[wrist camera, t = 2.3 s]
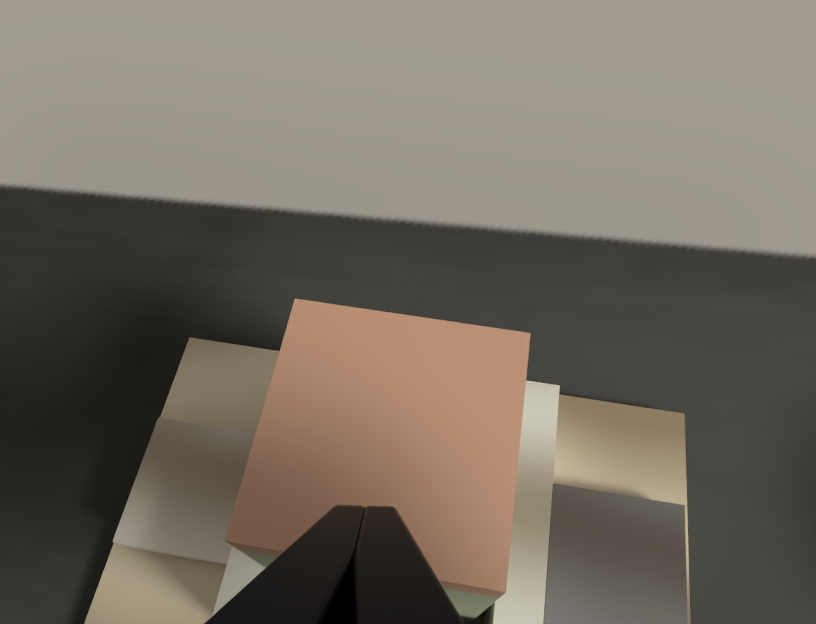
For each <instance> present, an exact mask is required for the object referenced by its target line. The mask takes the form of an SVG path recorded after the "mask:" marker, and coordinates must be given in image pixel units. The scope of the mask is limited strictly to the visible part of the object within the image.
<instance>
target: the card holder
mask: <svg viewBox="0 0 816 624" xmlns="http://www.w3.org/2000/svg"><path fill="white" fill-rule="evenodd" d="M279 352H280V351H275V350H268V349H262V348H255V347H249V346H242V345H236V344H229V343H223V342H216V341H210V340H203V339H197V338H190V337H189V340H188V343H187V346H186V348H185V351H184V354H183V356H182V359H181V362H180V365H179V367H178V370H177V373H176V375H175V378H174V381H173V384H172V386H171V389H170V392H169V394H168V397H167V400H166V403H165V405H164V408H163V411H162V413H161V416H160V417H158V419H157V422H156V425H155V428H154V430H153V433H152V436H151V438H150V441H149V444H148V447H147V449H146V452H145V455H144V457H143V460H142V463H141V465H140V468H139V471H138V474H137V476H136V479H135V482H134V484H133V487H132V490H131V493H130V495H129V498H128V501H127V503H126V506H125V509H124V511H123V514H122V517H121V520H120V522H119V525H118V528H117V530H116V533H115V536H114V539H113V541H112V542H114V544H113V547H112V549H111V552H110V555H109V557H108V560H107V563H106V566H105V568H104V571H103V574H102V576H101V579H100V582H99V585H98V587H97V590H96V593H95V595H94V598H93V601H92V604H91V606H90V609H89V612H88V614H87V617H86V620H85V623H84V624H204V623H205V622H206V621H207V620H208V619H210V618H211V617H212V616H213V615H214V614H215V613H216V612H217V611H218V610H220V609H221V608H222V607H223V606H224V605H225V604H226V603H227V602H228V601H230V600H231V599H232V598H233V597H234V596H235V595H236V594H237V593H238V592H239V591H241V590H242V589H243V588H244V587H245V586H246V585H247V584H248V583H249V582H251V581H252V580H253V579H254V578H255V577H256V576H257V575H258V574H259V573H260V572H262V571H263V570H264V569H265V567H264V566H262V565H261V564H259V563H258V562H256V561H255V560H253V559H252V558H250V557H249V556H247V555H246V554H244V553H242V552H241V551H239V550H238V549H236V548H235V547H233V546H232V545H230V544H229V543H227V542H226V541H224V540H225V536H226V533H227V530H228V526H229V523H230V519H231V516H232V512H233V509H234V506H235V502H236V499H237V495H238V492H239V489H240V485H241V482H242V478H243V475H244V471H245V468H246V465H247V461H248V458H249V454H250V451H251V448H252V444H253V441H254V437H255V434H256V430H257V427H258V424H259V420H260V417H261V413H262V410H263V406H264V403H265V400H266V396H267V393H268V389H269V386H270V383H271V379H272V376H273V372H274V369H275V365H276V362H277V359H278V355H279ZM559 387H560V386H558V385H552V384H545V383H539V382H532V381H526V385H525V396H524V406H523V417H522V427H521V438H520V449H519V459H518V470H517V480H516V491H515V501H514V512H513V522H512V533H511V544H510V554H509V565H508V575H507V586H506V593H505V594H503V595H502V596H501V597H500V598H499V599H498V600H496V601H495V602H494V603H493V604H492V605H491V606H489V607H488V608H487V609H486V610H485V611H484V612H482V613H481V614H480V615H479V616H478V617H476V618H475V619H474V620H473V621H471V620H465V619H462V620H463V622H464V623H465V624H690V594H689V558H688V521H687V485H686V449H685V414H683V413H676V412H670V411H663V410H657V409H650V408H644V407H637V406H631V405H625V404H618V403H612V402H605V401H599V400H592V399H586V398H579V397H573V396H566V395H560V394H559Z"/></svg>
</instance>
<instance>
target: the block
mask: <svg viewBox="0 0 816 624" xmlns="http://www.w3.org/2000/svg"><path fill="white" fill-rule="evenodd" d="M529 343H530V333H526V332H519V331H512V330H505V329H498V328H492V327H485V326H478V325H471V324H464V323H457V322H451V321H444V320H437V319H430V318H423V317H416V316H410V315H403V314H396V313H389V312H382V311H375V310H369V309H362V308H355V307H348V306H341V305H334V304H328V303H321V302H314V301H307V300H300V299H295V301H294V304H293V307H292V311H291V314H290V318H289V321H288V324H287V328H286V331H285V335H284V338H283V342H282V345H281V348H280V352H279V355H278V359H277V362H276V365H275V369H274V372H273V376H272V379H271V383H270V386H269V389H268V393H267V396H266V400H265V403H264V406H263V410H262V413H261V417H260V420H259V424H258V427H257V430H256V434H255V437H254V441H253V444H252V448H251V451H250V454H249V458H248V461H247V465H246V468H245V471H244V475H243V478H242V482H241V485H240V489H239V492H238V495H237V499H236V502H235V506H234V509H233V512H232V516H231V519H230V523H229V526H228V530H227V533H226V536H225V540H224V541H226V542H227V543H229V544H230V545H232V546H233V547H235V548H236V549H238V550H239V551H241V552H242V553H244V554H246V555H247V556H249V557H250V558H252V559H253V560H255V561H256V562H258V563H259V564H261V565H262V566H264V567H265V568H266V567H267V566H268V565H269V564H270V563H272V562H273V561H274V560H275V559H276V558H277V557H278V556H279V555H280V554H282V553H283V552H284V551H285V550H286V549H287V548H288V547H289V546H290V545H291V544H293V543H294V542H295V541H296V540H297V539H298V538H299V537H300V536H301V535H303V534H304V533H305V532H306V531H307V530H308V529H309V528H310V527H311V526H313V525H314V524H315V523H316V522H317V521H318V520H319V519H320V518H321V517H322V516H324V515H325V514H326V513H327V512H328V511H329V510H330V509H331V508H332V507H334V506H336V505H361V506H364V507H367V506H393V507H395V508H396V509H397V511H398V512H399V514H400V516H401V517H402V519H403V521H404V522H405V524H406V526H407V527H408V529H409V531H410V533H411V534H412V536H413V538H414V539H415V541H416V543H417V544H418V546H419V548H420V549H421V551H422V553H423V554H424V556H425V558H426V559H427V561H428V563H429V564H430V566H431V568H432V570H433V571H434V573H435V575H436V576H437V578H438V580H439V581H440V583H441V585H442V586H443V588H444V590H445V591H446V593H447V595H448V596H449V598H450V600H451V601H452V603H453V605H454V607H455V608H456V610H457V612H458V613H459V615H460V617H461V618H462V619H465V620H471V621H473V620H474V619H475V618H476V617H478V616H479V615H480V614H481V613H482V612H484V611H485V610H486V609H487V608H488V607H489V606H491V605H492V604H493V603H494V602H495V601H496V600H498V599H499V598H500V597H501V596H502V595H503V594H505V593H506V586H507V575H508V565H509V554H510V544H511V533H512V522H513V512H514V501H515V491H516V480H517V470H518V459H519V449H520V438H521V427H522V417H523V406H524V396H525V385H526V375H527V364H528V354H529Z"/></svg>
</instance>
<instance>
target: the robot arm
mask: <svg viewBox="0 0 816 624" xmlns="http://www.w3.org/2000/svg"><path fill="white" fill-rule="evenodd" d="M204 624H465V623H464V622H463V620H462V618H461V617H460V615H459V613H458V612H457V610H456V608H455V607H454V605H453V603H452V601H451V600H450V598H449V596H448V595H447V593H446V591H445V590H444V588H443V586H442V585H441V583H440V581H439V580H438V578H437V576H436V575H435V573H434V571H433V570H432V568H431V566H430V564H429V563H428V561H427V559H426V558H425V556H424V554H423V553H422V551H421V549H420V548H419V546H418V544H417V543H416V541H415V539H414V538H413V536H412V534H411V533H410V531H409V529H408V527H407V526H406V524H405V522H404V521H403V519H402V517H401V516H400V514H399V512H398V511H397V509H396V508H395V507H393V506H367V507H364V506H361V505H336V506H334V507H332V508H331V509H330V510H329V511H328V512H327V513H326V514H325V515H324V516H322V517H321V518H320V519H319V520H318V521H317V522H316V523H315V524H314V525H313V526H311V527H310V528H309V529H308V530H307V531H306V532H305V533H304V534H303V535H301V536H300V537H299V538H298V539H297V540H296V541H295V542H294V543H293V544H291V545H290V546H289V547H288V548H287V549H286V550H285V551H284V552H283V553H282V554H280V555H279V556H278V557H277V558H276V559H275V560H274V561H273V562H272V563H270V564H269V565H268V566H267V567H266V568H265V569H264V570H263V571H262V572H260V573H259V574H258V575H257V576H256V577H255V578H254V579H253V580H252V581H251V582H249V583H248V584H247V585H246V586H245V587H244V588H243V589H242V590H241V591H239V592H238V593H237V594H236V595H235V596H234V597H233V598H232V599H231V600H230V601H228V602H227V603H226V604H225V605H224V606H223V607H222V608H221V609H220V610H218V611H217V612H216V613H215V614H214V615H213V616H212V617H211V618H210V619H208V620H207V621H206V622H205V623H204Z"/></svg>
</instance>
